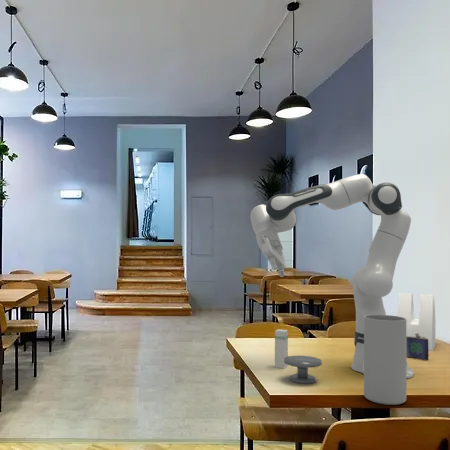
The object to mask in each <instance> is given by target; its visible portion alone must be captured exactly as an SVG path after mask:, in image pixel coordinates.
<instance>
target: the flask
mask: <svg viewBox="0 0 450 450" xmlns="http://www.w3.org/2000/svg"><path fill="white" fill-rule="evenodd" d="M418 334H419V333H416V334H415V335H416V337H413V336H406V358H409V359H415V360H422V361H429V357H430V355H429V351H428V339H427V338H425V337H423V338H422V337H421V336H420V335H418Z"/></svg>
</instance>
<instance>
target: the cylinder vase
mask: <svg viewBox="0 0 450 450" xmlns="http://www.w3.org/2000/svg"><path fill="white" fill-rule="evenodd" d="M406 327H407V319H406V318H403V317H398V316H397V315H388V314H386V315H366V316H364V374H363V396H364V397H365V399H366V400H369V401H371V402H373V403H376V404H380V405H387V406H388V405H389V406H396V405H401V404H404V403H405V402H406V401H407V378H406V360H407V357H406Z"/></svg>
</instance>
